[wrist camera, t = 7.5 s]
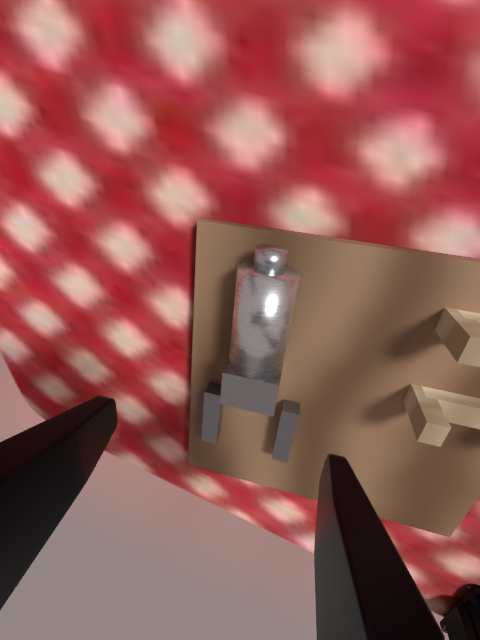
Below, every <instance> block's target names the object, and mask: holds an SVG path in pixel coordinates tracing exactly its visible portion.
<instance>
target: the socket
mask: <svg viewBox="0 0 480 640" xmlns="http://www.w3.org/2000/svg"><path fill="white" fill-rule="evenodd" d="M220 396H221V384H217V383H212V382H209V384H208V386H207V388H206V390H205V392H204V406H203V422H202V438H201V440H202V441H206V442H210V443H214V444H216V443H217V441H218V438H219V435H220V433H221V423H222V413H223V405H222V404H220ZM300 404H301V403H298V402H294V401H290V400H285V399H284V400H283V405H282V409H281V414H280V419H279V423H278V428H277V433H276V437H275V442H274V447H273V453H272V459H274V460H278V461H282V462H286V463H288V459H289V455H290V451H291V447H292V443H293V439H294V435H295V431H296V427H297V423H298V419H299V415H300Z"/></svg>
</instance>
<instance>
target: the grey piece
mask: <svg viewBox="0 0 480 640" xmlns="http://www.w3.org/2000/svg"><path fill="white" fill-rule="evenodd" d="M287 254H288V249H287V248H285V247H282V246H278V245H273V244H259V245H256V248H255V257H254V261H249V262H244V263H241V264H239V265H238V267H237V278H236V289H235V300H234V311H233V321H232V332H231V343H230V354H229V360H228V362H227V364H226V366H225V368H224V370H223V373H222V384H221V396H220V404H222V405H226V406H230V407H234V408H239V409H243V410H247V411H251V412H255V413H260V414H264V415H268V416H272V417H274V411H275V406H276V401H277V396H278V390H279V385H280V380H281V374H282V369H283V364H284V359H285V353H286V348H287V343H288V337H289V332H290V327H291V322H292V316H293V311H294V306H295V300H296V295H297V290H298V285H299V279H300V273H299V272H298V271H297V270H296V269H294V268H292V267H290V266H287V265H286V260H287Z"/></svg>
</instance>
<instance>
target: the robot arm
mask: <svg viewBox="0 0 480 640" xmlns="http://www.w3.org/2000/svg"><path fill="white" fill-rule="evenodd" d="M116 426H117V411H116V403H115V400H114V399H113V398H110V397H106V396H97V397H95V398H92V399H90V400H88V401H86V402H84V403H82V404H80V405H78V406H76V407H73V408H71V409H69V410H67V411H65V412H63V413H61V414H59V415H57V416H55V417H52V418H50V419H48V420H46V421H44V422H42V423H40V424H38V425H36V426H34V427H31V428H29V429H27V430H25V431H23V432H21V433H19V434H17V435H15V436H12V437H10V438H8V439H6V440H4V441H2V442H0V610H1V608H2V607H3V605H4V604H5V602H6V601H7V599H8V598H9V596H10V595H11V594H12V592H13V591H14V589H15V587H16V586H17V585H18V583H19V581H20V580H21V579H22V577H23V576H24V574H25V573H26V571H27V570H28V568H29V567H30V565H31V564H32V562H33V561H34V559H35V558H36V556H37V555H38V554H39V552H40V550H41V549H42V548H43V546H44V545H45V543H46V542H47V540H48V539H49V537H50V536H51V534H52V533H53V531H54V530H55V528H56V527H57V525H58V524H59V522H60V521H61V520H62V518H63V517H64V515H65V514H66V512H67V511H68V509H69V508H70V506H71V505H72V503H73V502H74V500H75V499H76V497H77V496H78V494H79V493H80V491H81V490H82V488H83V486H84V485H85V483H86V482H87V480H88V478H89V477H90V475H91V473H92V471H93V470H94V468H95V466H96V464H97V462H98V460H99V458H100V457H101V455H102V453H103V451H104V449H105V448H106V446H107V444H108V442H109V440H110V438H111V436H112V435H113V433H114V431H115V429H116ZM314 559H315V560H314V561H315V562H314V564H315V593H316V594H315V595H316V621H317V622H316V625H317V640H445V637H444V635H443V633H442V631H443V632H445V633H448V636H449V640H480V587H471V588H470V589H469V590H468V591H467V592H466V593H465V595H464V596H463V597H462V598H461V599H460V600H459V601H458V602H457V604H456V605H455V606H454V607H453V608H452V609H451V610H450V611H449V613H448V614H447V615H446V616H445V617H444V618H443V619H442V620H441V622H440V625H441V629H442V631H441V629H440V627H439V625H438V623H437V622H436V620H435V618H434V616H433V614H432V613H431V611H430V609H429V607H428V605H427V604H426V602H425V600H424V598H423V596H422V594H421V593H420V591H419V589H418V587H417V585H416V584H415V582H414V580H413V578H412V576H411V574H410V573H409V571H408V569H407V567H406V565H405V564H404V562H403V560H402V558H401V556H400V555H399V553H398V551H397V549H396V547H395V545H394V544H393V542H392V540H391V538H390V536H389V535H388V533H387V531H386V529H385V527H384V525H383V524H382V522H381V520H380V518H379V516H378V515H377V513H376V511H375V509H374V507H373V506H372V504H371V502H370V500H369V498H368V496H367V495H366V493H365V491H364V489H363V487H362V486H361V484H360V482H359V480H358V478H357V477H356V475H355V473H354V471H353V469H352V467H351V466H350V464H349V462H348V460H347V459H346V458H345V457H343V456H340V455H336V454H332V453H330V454H328V455H327V457H326V460H325V463H324V466H323V469H322V472H321V476H320V481H319V492H318V505H317V519H316V532H315V550H314Z"/></svg>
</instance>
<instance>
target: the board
mask: <svg viewBox="0 0 480 640" xmlns="http://www.w3.org/2000/svg"><path fill="white" fill-rule="evenodd" d="M259 244H273V245H278V246H282V247H285V248H287V249H288V254H287V260H286V265H287V266H290V267H292V268H294V269H296V270H297V271H298V272H299V273H300V279H299V285H298V290H297V295H296V300H295V306H294V311H293V316H292V322H291V327H290V332H289V337H288V343H287V348H286V353H285V359H284V364H283V369H282V374H281V380H280V385H279V390H278V396H277V401H276V406H275V411H274V417H272V416H268V415H264V414H260V413H255V412H251V411H247V410H243V409H239V408H234V407H230V406H226V405H223V413H222V423H221V433H220V435H219V438H218V441H217V443H216V444H214V443H210V442H206V441H202V440H201V438H202V422H203V406H204V392H205V390H206V388H207V386H208V384H209V382H212V383H217V384H222V373H223V370H224V368H225V366H226V364H227V362H228V360H229V354H230V343H231V332H232V321H233V311H234V300H235V289H236V278H237V267H238V265H239V264H241V263H244V262H249V261H254V257H255V248H256V245H259ZM445 308H451V309H456V310H462V311H468V312H474V313H480V259H476V258H469V257H462V256H456V255H449V254H442V253H435V252H429V251H422V250H415V249H408V248H402V247H395V246H388V245H381V244H375V243H368V242H361V241H354V240H348V239H341V238H334V237H328V236H321V235H314V234H307V233H301V232H294V231H287V230H280V229H274V228H267V227H260V226H253V225H247V224H240V223H233V222H226V221H220V220H213V219H206V218H201V219H199V220H197V236H196V262H195V289H194V316H193V343H192V370H191V397H190V424H189V451H188V464H189V465H193V466H196V467H200V468H204V469H207V470H211V471H214V472H218V473H222V474H225V475H229V476H232V477H236V478H239V479H243V480H247V481H250V482H254V483H257V484H261V485H265V486H268V487H272V488H275V489H279V490H282V491H286V492H290V493H293V494H297V495H300V496H304V497H308V498H311V499H315V500H318V492H319V481H320V476H321V472H322V469H323V466H324V463H325V460H326V457H327V455H328V454H330V453H332V454H336V455H340V456H343V457H345V458H346V459H347V460H348V462H349V464H350V466H351V467H352V469H353V471H354V473H355V475H356V477H357V478H358V480H359V482H360V484H361V486H362V487H363V489H364V491H365V493H366V495H367V496H368V498H369V500H370V502H371V504H372V506H373V507H374V509H375V511H376V513H377V515H378V516H379V518H383V519H386V520H390V521H394V522H397V523H401V524H404V525H408V526H412V527H415V528H419V529H422V530H426V531H430V532H433V533H437V534H440V535H444V536H447V537H450V536H451V535H452V533H453V532H454V530H455V529H456V528H457V526H458V525H459V523H460V522H461V521H462V519H463V518H464V517H465V515H466V514H467V512H468V511H469V510H470V508H471V507H472V505H473V504H474V503H475V501H476V500H477V498H478V497H479V496H480V429H476V428H472V427H467V426H463V425H458V424H454V423H449V424H450V426H451V429H450V431H449V433H448V435H447V436H446V438H445V440H444V442H443V443H442V445H441V447H439V446H434V445H430V444H426V443H422V442H418V441H417V439H416V436H415V434H414V431H413V428H412V425H411V422H410V419H409V416H408V414H407V411H406V408H405V405H404V402H403V401H404V399H405V396H406V394H407V392H408V390H409V387H410V385H411V384H414V385H419V386H424V387H428V388H433V389H438V390H443V391H447V392H452V393H457V394H462V395H466V396H471V397H476V398H480V367H476V366H471V365H466V364H461V363H457V362H456V360H455V359H454V357H453V356H452V355H451V353H450V352H449V350H448V349H447V347H446V346H445V344H444V343H443V341H442V340H441V339H440V337H439V336H438V334H437V333H436V331H435V329H436V327H437V324H438V322H439V320H440V318H441V315H442V313H443V311H444V309H445ZM284 399H285V400H290V401H294V402H298V403H301V404H300V415H299V419H298V423H297V427H296V431H295V435H294V439H293V443H292V447H291V451H290V455H289V459H288V463H286V462H282V461H278V460H274V459H272V453H273V447H274V442H275V437H276V433H277V428H278V423H279V419H280V414H281V409H282V405H283V400H284Z"/></svg>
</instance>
